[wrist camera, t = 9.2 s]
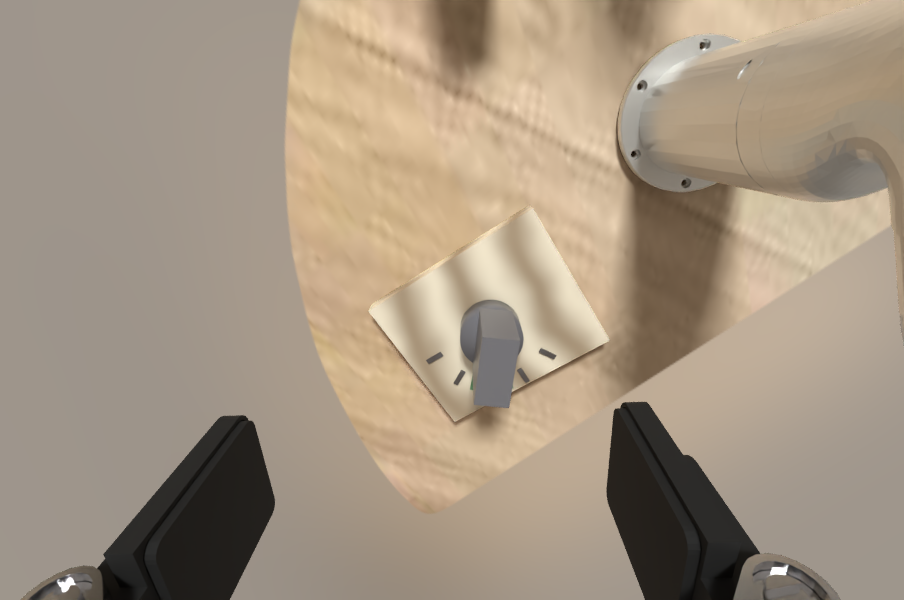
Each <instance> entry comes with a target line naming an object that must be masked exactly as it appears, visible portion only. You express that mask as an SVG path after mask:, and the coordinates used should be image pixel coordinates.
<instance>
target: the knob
mask: <svg viewBox="0 0 904 600" xmlns="http://www.w3.org/2000/svg"><path fill="white" fill-rule="evenodd" d="M523 341H524V337H523V332H522V328H521V325H520V321H519V318H518V316H517V314H516V312H515V311H514V309H513V308H512V307H510V306H509V305H508V304H506V303H504V302H502V301H498V300H483V301H480V302H477V303H475V304H474V305H472V306H471V307H470V308H468V310H467V311H466V312H465V313H464V315H463V317H462V320H461V326H460V344H461V349H462V351H463V353H464V355H465V356H466V357H467V358H468V359H469V360H470V361H471V362H472V363H473V368H472V370H473V398H474V405H481V406H491V407H502V408H509V405H510V399H511V393H512V387H513V381H514V375H515V369H516V363H517V357H518V355H519V353H520V352H521V349H522V347H523Z"/></svg>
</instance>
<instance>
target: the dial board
mask: <svg viewBox="0 0 904 600" xmlns="http://www.w3.org/2000/svg"><path fill="white" fill-rule="evenodd" d="M483 300H498V301H502V302H504V303H506V304H508V305H509V306H510V307H512V308H513V309H514V311H515V312H516V314H517V316H518V318H519V321H520V325H521V328H522V332H523V337H524V341H523V347H522V349H521V352H520V353H519V355H518V357H517V363H516V369H515V375H514V381H513V387H512V392H513V391H515V390H517V389H519V388H521V387H522V386H524V385H526V384H528V383H530V382H532V381H534V380H536V379H538V378H540V377H541V376H543V375H545V374H547V373H549V372H551V371H553V370H555V369H557V368H559V367H560V366H562V365H564V364H566V363H568V362H570V361H572V360H574V359H576V358H578V357H579V356H581V355H583V354H585V353H587V352H589V351H591V350H593V349H595V348H597V347H598V346H600V345H602V344H604V343H606V342H608V341H610V339H609V338H608V336H607V334H606V333H605V331H604V329H603V327H602V326H601V324H600V322H599V321H598V319H597V317H596V315H595V314H594V312H593V310H592V309H591V307H590V305H589V303H588V302H587V300H586V298H585V297H584V295H583V293H582V291H581V290H580V288H579V286H578V285H577V283H576V281H575V279H574V278H573V276H572V274H571V273H570V271H569V269H568V267H567V266H566V264H565V262H564V261H563V259H562V257H561V255H560V254H559V252H558V250H557V249H556V247H555V245H554V243H553V242H552V240H551V238H550V237H549V235H548V233H547V231H546V230H545V228H544V226H543V225H542V223H541V221H540V219H539V218H538V216H537V214H536V213H535V211H534V209H533V208H532V207H531V205H529V206H527V207H526V208H524V209H522V210H521V211H519V212H518V213H516V214H514V215H513V216H511V217H510V218H508V219H506V220H505V221H503V222H502V223H500V224H498V225H497V226H495V227H494V228H492V229H491V230H489V231H487V232H486V233H484V234H483V235H481V236H479V237H478V238H476V239H475V240H473V241H471V242H470V243H468V244H467V245H465V246H464V247H462V248H460V249H459V250H457V251H456V252H454V253H452V254H451V255H449V256H448V257H446V258H444V259H443V260H441V261H440V262H438V263H436V264H435V265H433V266H432V267H430V268H429V269H427V270H425V271H424V272H422V273H421V274H419V275H417V276H416V277H414V278H413V279H411V280H409V281H408V282H406V283H405V284H403V285H402V286H400V287H398V288H397V289H395V290H394V291H392V292H390V293H389V294H387V295H386V296H384V297H382V298H381V299H379V300H378V301H376V302H374V303H373V304H372V305H371V307H370V309H369V311H368V312H369V313H370V314H371V315H372V317H373V318H374V319H375V320H376V322H377V323H378V324H379V326H380V327H381V328H382V329H383V331H384V332H385V333H386V335H387V336H388V337H389V338H390V340H391V341H392V342H393V344H394V345H395V346H396V347H397V349H398V350H399V351H400V353H401V354H402V355H403V356H404V358H405V359H406V360H407V362H408V363H409V364H410V365H411V367H412V368H413V369H414V371H415V372H416V373H417V374H418V376H419V377H420V378H421V380H422V381H423V382H424V383H425V385H426V386H427V387H428V388H429V390H430V391H431V392H432V394H433V395H434V396H435V397H436V399H437V400H438V401H439V403H440V404H441V405H442V406H443V408H444V409H445V410H446V412H447V413H448V414H449V415H450V417H451V418H452V419H453V421H454V422H456V421H458V420H460V419H462V418H463V417H465V416H467V415H469V414H471V413H473V412H475V411H477V410H479V409H481V408H482V407H484V406H481V405H474V398H473V370H472V368H473V363H472V362H471V361H470V360H469V359H468V358H467V357H466V356H465V355H464V353H463V351H462V349H461V344H460V326H461V320H462V317H463V315H464V313H465V312H466V311H467V310H468V308H470V307H471V306H472V305H474V304H475V303H477V302H480V301H483Z"/></svg>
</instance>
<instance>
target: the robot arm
mask: <svg viewBox="0 0 904 600" xmlns="http://www.w3.org/2000/svg"><path fill="white" fill-rule="evenodd" d="M700 43H701V44H702V49H700ZM637 84H640V85H641V88H640V90H638V89H637ZM618 140H619V145H620V150H621V152H622V155H623V157H624V159H625V162H626V163H627V165H628V166H629V167H630V169H631V170H632V172H633V173H634V174H636V175H637V176H638V177H639V178H640V179H641V180H642V181H644V182H646V183H648V184H649V185H651V186H653V187H656V188H659V189H662V190H667V191H672V192H690V191H695V190H701V189H704V188H706V187H709V186H712V185H714V184H716V183H721V184H726V185H731V186H735V187H740V188H745V189H750V190H754V191H759V192H764V193H768V194H773V195H778V196H783V197H787V198H792V199H797V200H802V201H809V202H838V201H845V200H850V199H854V198H858V197H862V196H866V195H869V194H872V193H875V192H878V191H880V190H883V189H885V188H887V187H888V193H889V201H890V214H891V226H892V228H893V230H894V240H895V241H894V242H895V257H896V273H897V289H898V304H899V313H900V325H901V332H902V338H903V344H904V0H870V1H867V2H865V3H862V4H859V5H855V6H852V7H849V8H846V9H843V10H840V11H837V12H834V13H831V14H827V15H824V16H822V17H819V18H816V19H812V20H809V21H806V22H803V23H800V24H797V25H793V26H790V27H787V28H784V29H781V30H777V31H774V32H771V33H768V34H765V35H761V36H758V37H755V38H752V39H749V40H746V41H742V42H741V41H740V40H738V39H735V38H732V37H730V36H727V35H721V34H711V33H709V34H701V35H694V36H691V37H688V38H685V39H682V40H679V41H677V42H675V43H673V44H670V45H668V46H667V47H665V48H664V49H662V50H661V51H659V52H658V53H656V54H655V55H654V56H652V57H651V58H650V59H649V60H648V61H647V62H646V63H645V64H644V65H643V66H642V67H641V69H640V70H639V71H638V72H637V74H636V75H635V76H634V78H633V79H632V81H631V83H630V85H629V87H628V88H627V90H626V92H625V95H624V97H623V100H622V103H621V106H620V111H619V117H618ZM632 151H634V152H635V155H634V156H633V157H631V153H632ZM683 180H684V184H683V185H681V183H682V181H683ZM607 500H608V504H609V507H610V510H611V512H612V515H613V517H614V520H615V522H616V525H617V528H618V530H619V533H620V536H621V538H622V540H623V543H624V546H625V549H626V551H627V554H628V556H629V559H630V562H631V564H632V567H633V569H634V572H635V575H636V577H637V580H638V582H639V585H640V587H641V590H642V593H643V595H644V598H645V600H840V598H839V596H838V594H837V593H836V592H835V591H834V589H833V588H832V587H831V586H830V585H829V584H828V583H827V582H826V581H825V580H824V579H823V578H822V577H820V576H819V575H818V574H817V573H815V572H814V571H813V570H812V569H810V568H808V567H806V566H805V565H803V564H801V563H799V562H797V561H795V560H792V559H790V558H787V557H784V556H782V555H776V554H769V553H764V554H760V553H759V551H758V550H757V548H756V547H755V545H754V544H753V542H752V541H751V540H750V538H749V537H748V535H747V534H746V532H745V531H744V529H743V528H742V527H741V525H740V524H739V522H738V521H737V519H736V518H735V516H734V515H733V514H732V512H731V511H730V509H729V508H728V506H727V505H726V504H725V502H724V501H723V499H722V498H721V496H720V495H719V494H718V492H717V491H716V489H715V488H714V486H713V485H712V484H711V482H710V481H709V479H708V478H707V477H706V475H705V473H704V472H703V471H702V469H701V468H700V466H699V465H698V463H697V462H696V461H695V460H694V459H693V458H692V457H691V456H689V455H683V454H682V453H681V451H680V450H679V449H678V447H677V446H676V444H675V443H674V441H673V440H672V438H671V436H670V435H669V433H668V432H667V430H666V429H665V428H664V426H663V425H662V423H661V422H660V420H659V419H658V417H657V416H656V415H655V413H654V411H653V410H652V408H651V407H650V405H649V404H648V403H647V402H625V403H622V405H621V408H620V409H615V410H614V416H613V426H612V436H611V448H610V458H609V469H608V480H607ZM274 506H275V499H274V494H273V491H272V487H271V483H270V479H269V476H268V472H267V468H266V465H265V461H264V458H263V454H262V450H261V446H260V443H259V439H258V436H257V432H256V428H255V425H254V423H253V422H252V421H249V420H248V418H247V417H246V416H243V415H241V416H222V417H220V418H219V419H218V420H217V421H216V422H215V423H214V424H213V426H212V427H211V428H210V429H209V430H208V432H207V433H206V434H205V435H204V436H203V437H202V439H201V440H200V441H199V442H198V443H197V445H196V446H195V447H194V448H193V449H192V450H191V452H190V453H189V454H188V455H187V456H186V457H185V459H184V460H183V461H182V462H181V463H180V465H179V466H178V467H177V468H176V469H175V470H174V472H173V473H172V474H171V475H170V477H169V478H168V479H167V480H166V481H165V482H164V483H163V485H162V486H161V487H160V488H159V489H158V491H157V492H156V493H155V494H154V495H153V496H152V498H151V499H150V500H149V501H148V502H147V504H146V505H145V506H144V507H143V508H142V509H141V511H140V512H139V513H138V514H137V515H136V517H135V518H134V519H133V520H132V521H131V523H130V524H129V525H128V526H127V527H126V528H125V529H124V531H123V532H122V533H121V534H120V535H119V537H118V538H117V539H116V540H115V541H114V543H113V544H112V545H111V546H110V547H109V548H108V550H107V551H106V552H105V553H104V557H105V560H104V561H103V562H102V563H101V565H100V566H99V567H98V568H95V567H93V566H79V567H74V568H70V569H67V570H65V571H62V572H60V573H57V574H56V575H53V576H52V577H50V578H48V579H46V580H45V581H43V582H41V583H40V584H39V585H37V586H36V587H35V588H33V589H32V590H31V591H29V592H28V593H27V594H26V595H25V596H24V597H23V598H22V599H21V600H230V598H231V596H232V594H233V592H234V590H235V588H236V586H237V584H238V582H239V580H240V578H241V576H242V574H243V572H244V570H245V568H246V566H247V564H248V562H249V560H250V558H251V556H252V554H253V552H254V550H255V548H256V546H257V544H258V542H259V540H260V538H261V536H262V534H263V532H264V530H265V528H266V526H267V523H268V522H269V520H270V518H271V516H272V513H273V511H274Z"/></svg>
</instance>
